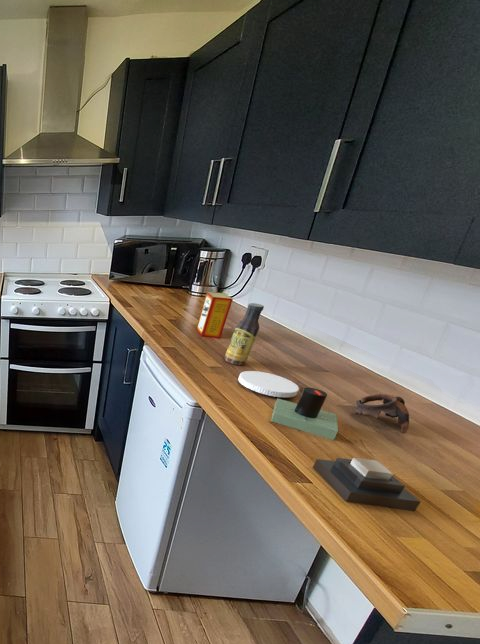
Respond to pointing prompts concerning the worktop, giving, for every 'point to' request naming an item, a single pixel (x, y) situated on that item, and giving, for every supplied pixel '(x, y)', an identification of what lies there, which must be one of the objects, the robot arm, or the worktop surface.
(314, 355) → the worktop surface
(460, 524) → the worktop surface
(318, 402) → the dial
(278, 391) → the plastic lid
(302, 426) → the volume panel
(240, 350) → the sauce bottle
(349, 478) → the tiered square pedestal
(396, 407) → the brown looped piece
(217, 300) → the baking soda box
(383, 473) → the key
